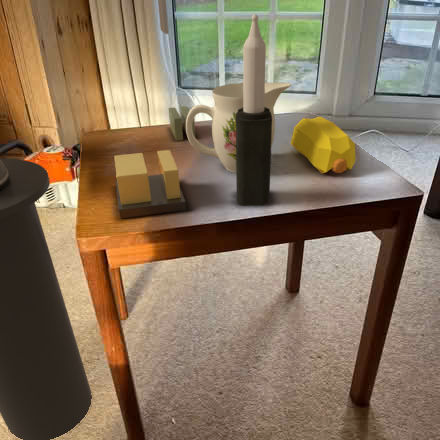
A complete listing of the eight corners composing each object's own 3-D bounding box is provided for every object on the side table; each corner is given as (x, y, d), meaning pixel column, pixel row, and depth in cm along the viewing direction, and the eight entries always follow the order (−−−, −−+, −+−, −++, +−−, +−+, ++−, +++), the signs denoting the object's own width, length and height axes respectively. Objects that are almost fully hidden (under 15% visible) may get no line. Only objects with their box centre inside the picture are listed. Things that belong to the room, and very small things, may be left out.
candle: (269, 205, 70) (276, 15, 55) (236, 205, 70) (234, 17, 55) (267, 191, 74) (274, 11, 59) (236, 192, 74) (234, 13, 59)
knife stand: (170, 128, 103) (168, 107, 100) (188, 126, 104) (186, 106, 101) (176, 140, 96) (174, 118, 93) (195, 138, 97) (194, 116, 94)
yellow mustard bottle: (321, 143, 92) (285, 147, 91) (324, 108, 88) (287, 112, 87) (361, 176, 78) (319, 181, 76) (368, 136, 74) (324, 141, 72)
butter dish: (116, 187, 77) (110, 152, 73) (174, 180, 78) (171, 146, 75) (120, 218, 67) (113, 180, 64) (186, 210, 69) (183, 172, 65)
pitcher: (189, 158, 87) (183, 81, 79) (281, 154, 87) (285, 77, 79) (188, 180, 78) (182, 96, 70) (291, 175, 79) (297, 91, 70)
